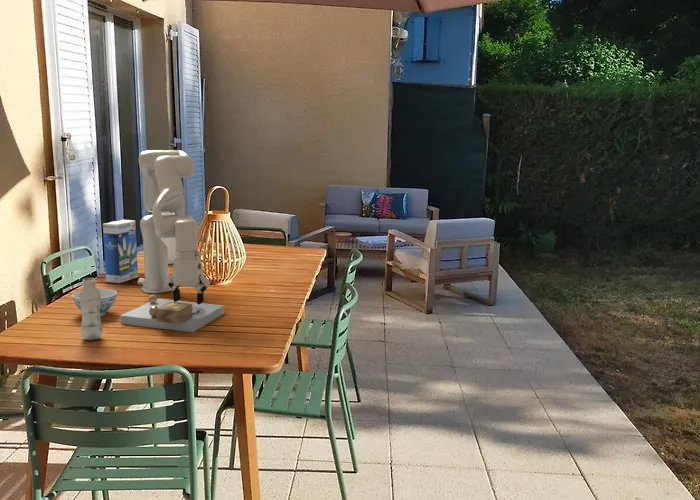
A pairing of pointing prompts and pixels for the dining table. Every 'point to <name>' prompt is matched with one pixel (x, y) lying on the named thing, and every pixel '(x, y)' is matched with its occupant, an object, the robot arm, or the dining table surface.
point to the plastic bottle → (90, 310)
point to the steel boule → (193, 309)
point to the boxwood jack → (152, 298)
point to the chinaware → (106, 300)
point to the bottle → (170, 246)
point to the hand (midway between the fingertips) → (188, 302)
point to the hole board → (192, 324)
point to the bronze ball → (153, 311)
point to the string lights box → (120, 251)
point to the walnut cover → (174, 312)
